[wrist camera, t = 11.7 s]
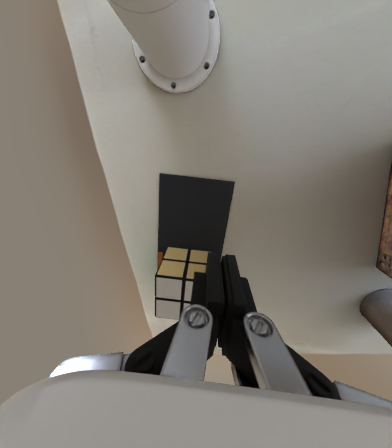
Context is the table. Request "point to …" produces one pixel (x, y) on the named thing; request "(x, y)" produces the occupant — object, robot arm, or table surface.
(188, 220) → the mat
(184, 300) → the puzzle cube
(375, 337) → the table surface
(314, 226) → the table surface
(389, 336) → the pillar candle
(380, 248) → the book
